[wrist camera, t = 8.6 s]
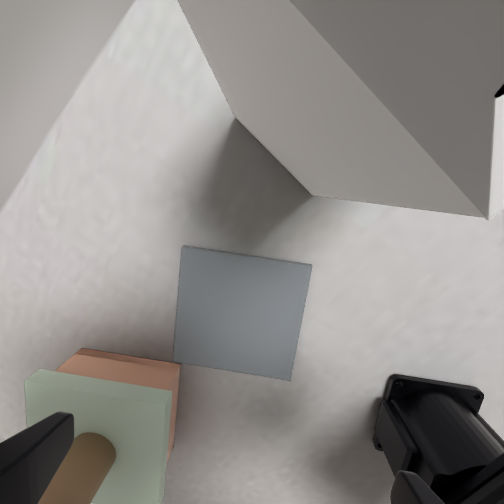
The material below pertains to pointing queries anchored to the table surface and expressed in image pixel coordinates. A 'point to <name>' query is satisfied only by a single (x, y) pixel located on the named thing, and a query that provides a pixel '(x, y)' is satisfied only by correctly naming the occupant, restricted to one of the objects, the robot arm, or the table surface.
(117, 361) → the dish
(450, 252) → the table surface
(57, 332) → the table surface
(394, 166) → the milk carton
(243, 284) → the mat
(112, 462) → the lid
